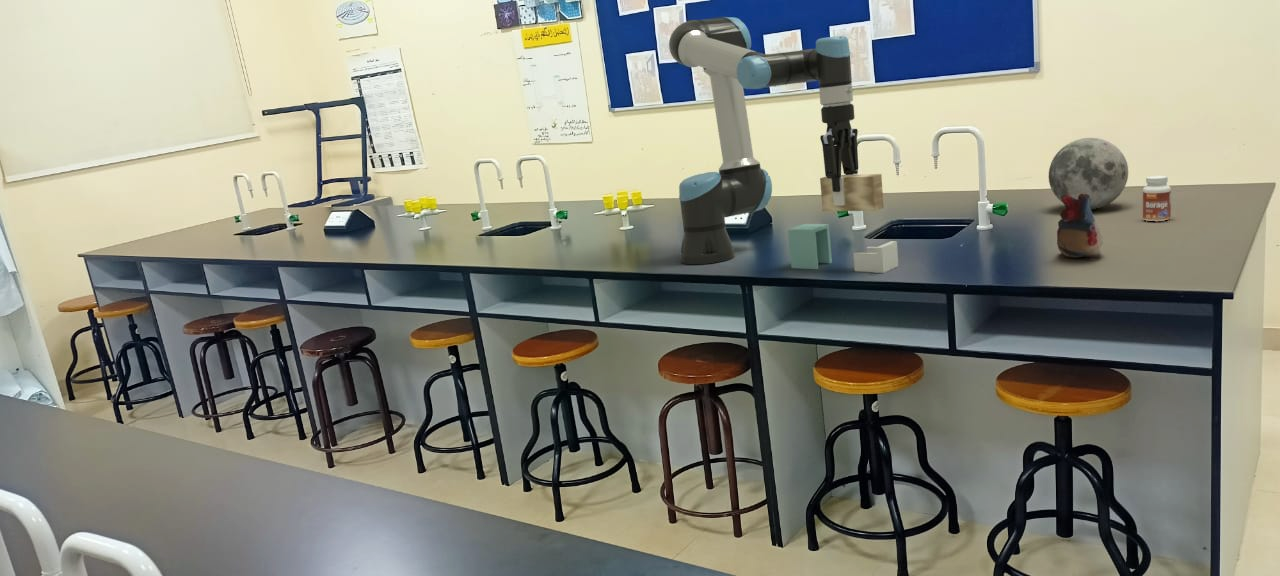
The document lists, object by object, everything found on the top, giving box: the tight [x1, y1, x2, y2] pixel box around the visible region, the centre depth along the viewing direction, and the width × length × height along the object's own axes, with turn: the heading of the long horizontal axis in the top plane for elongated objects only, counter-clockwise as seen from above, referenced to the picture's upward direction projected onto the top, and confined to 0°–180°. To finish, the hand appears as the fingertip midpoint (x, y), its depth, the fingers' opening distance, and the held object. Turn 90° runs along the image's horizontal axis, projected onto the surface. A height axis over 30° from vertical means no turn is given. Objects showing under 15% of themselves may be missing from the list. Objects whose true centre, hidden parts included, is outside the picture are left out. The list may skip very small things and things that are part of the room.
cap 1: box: [787, 223, 833, 270], centre depth 229 cm, size 7×7×10 cm
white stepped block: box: [852, 240, 899, 274], centre depth 217 cm, size 8×7×6 cm
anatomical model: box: [1056, 194, 1104, 258], centre depth 203 cm, size 9×13×15 cm
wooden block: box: [819, 173, 884, 212], centre depth 218 cm, size 14×4×8 cm, turn 48°
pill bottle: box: [1142, 175, 1172, 220], centre depth 231 cm, size 6×6×11 cm
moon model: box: [1048, 137, 1129, 210], centre depth 256 cm, size 20×20×20 cm
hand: (844, 203), depth 220 cm, fingers closed on wooden block, 4 cm apart
